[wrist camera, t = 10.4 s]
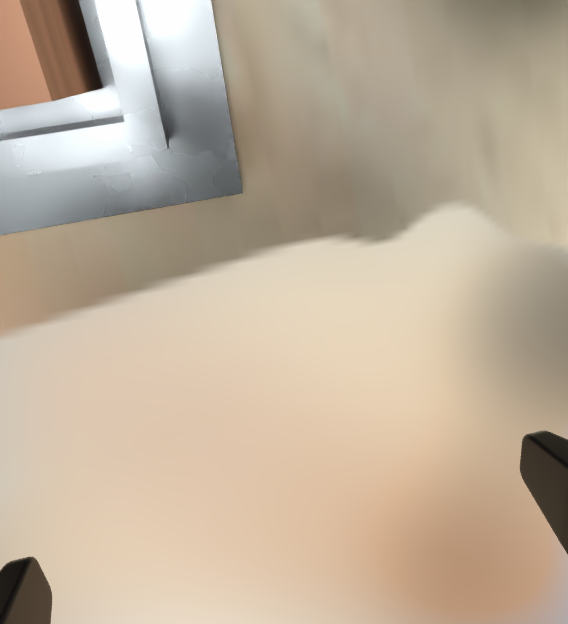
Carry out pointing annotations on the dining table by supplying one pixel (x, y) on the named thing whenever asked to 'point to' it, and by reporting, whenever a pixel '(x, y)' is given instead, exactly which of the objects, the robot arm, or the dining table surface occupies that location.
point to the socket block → (125, 123)
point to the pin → (44, 52)
